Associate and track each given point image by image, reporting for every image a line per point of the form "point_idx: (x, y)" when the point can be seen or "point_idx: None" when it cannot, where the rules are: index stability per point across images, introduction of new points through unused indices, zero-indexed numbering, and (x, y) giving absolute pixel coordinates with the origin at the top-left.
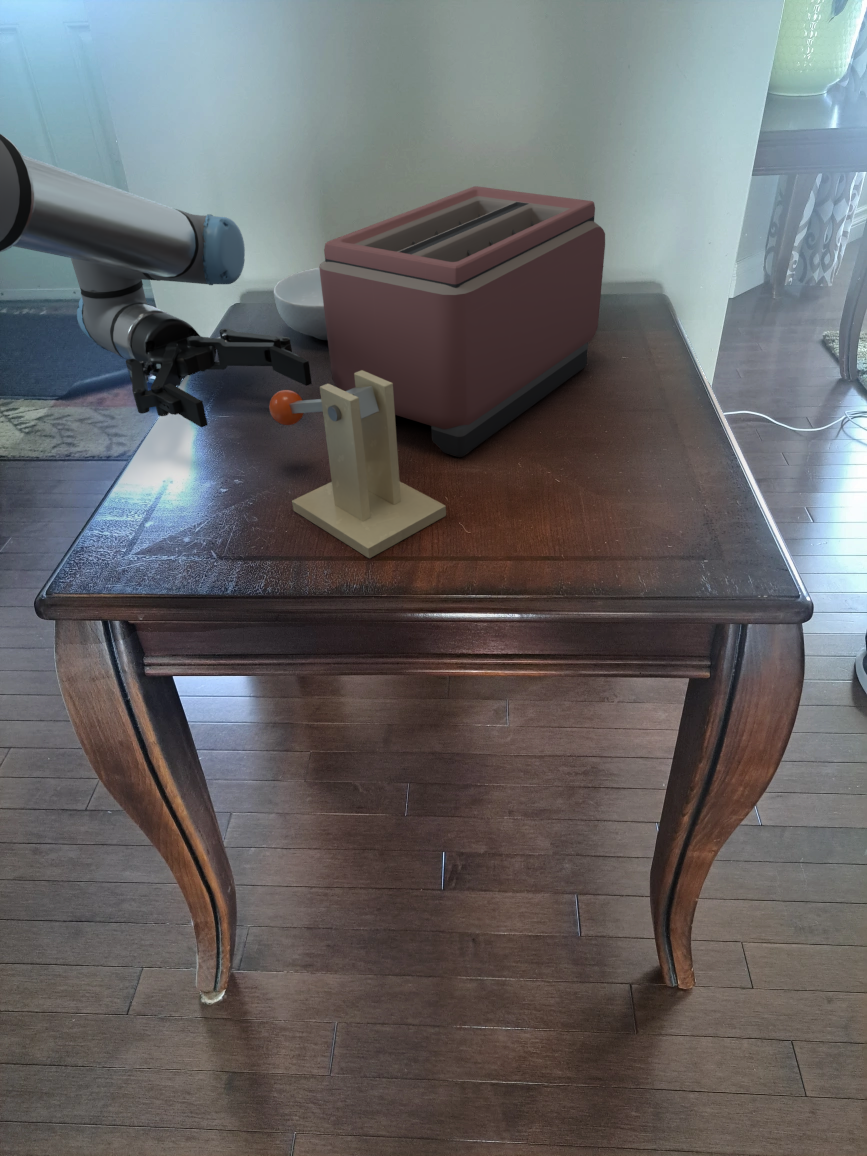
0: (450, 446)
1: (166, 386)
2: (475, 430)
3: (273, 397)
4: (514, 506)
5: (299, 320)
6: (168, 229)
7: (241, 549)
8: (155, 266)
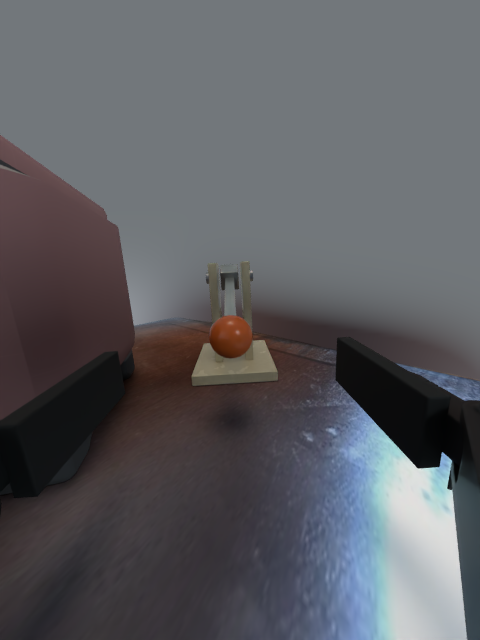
0: (132, 364)
1: (437, 388)
2: None
3: (243, 321)
4: (174, 345)
5: None
6: None
7: (334, 370)
8: None
